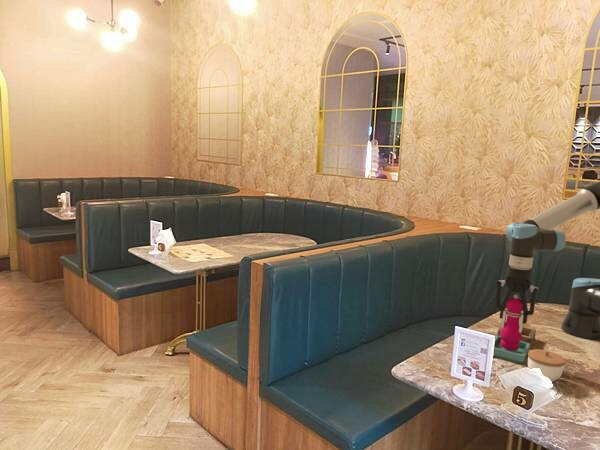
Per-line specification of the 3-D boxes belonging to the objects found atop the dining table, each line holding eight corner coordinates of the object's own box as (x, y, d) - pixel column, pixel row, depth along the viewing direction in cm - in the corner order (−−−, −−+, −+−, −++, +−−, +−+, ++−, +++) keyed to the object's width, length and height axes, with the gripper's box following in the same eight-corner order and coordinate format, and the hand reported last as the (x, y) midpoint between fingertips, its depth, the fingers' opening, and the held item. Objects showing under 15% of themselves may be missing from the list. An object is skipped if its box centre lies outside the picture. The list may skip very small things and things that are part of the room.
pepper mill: (522, 352, 167) (529, 298, 164) (500, 349, 168) (508, 296, 165) (517, 344, 174) (524, 292, 171) (496, 341, 175) (503, 290, 172)
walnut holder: (534, 338, 187) (536, 329, 186) (530, 348, 177) (531, 338, 176) (502, 331, 193) (504, 321, 192) (496, 340, 183) (498, 330, 182)
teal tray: (529, 351, 174) (530, 343, 174) (523, 364, 163) (524, 356, 162) (495, 342, 181) (496, 335, 180) (487, 354, 169) (488, 346, 169)
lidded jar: (519, 376, 154) (523, 349, 152) (533, 367, 160) (537, 341, 159) (553, 390, 146) (557, 361, 144) (567, 380, 152) (571, 353, 151)
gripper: (490, 264, 168) (483, 326, 172) (547, 274, 158) (537, 339, 162) (495, 260, 174) (487, 320, 178) (549, 270, 165) (540, 332, 168)
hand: (511, 329), depth 170 cm, fingers closed on pepper mill, 5 cm apart
